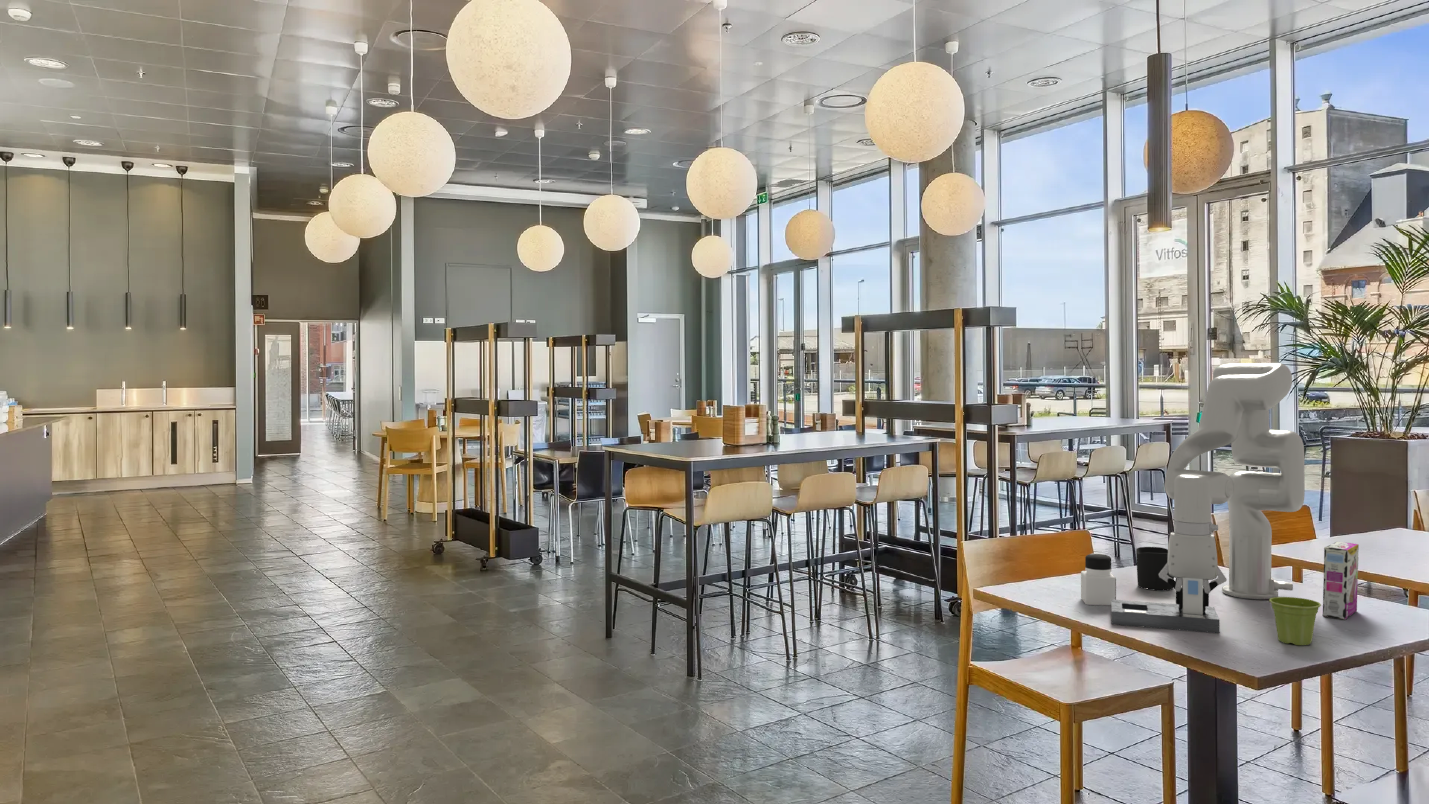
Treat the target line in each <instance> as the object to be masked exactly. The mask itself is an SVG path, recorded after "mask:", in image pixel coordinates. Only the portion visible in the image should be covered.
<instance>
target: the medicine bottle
mask: <svg viewBox="0 0 1429 804" xmlns="http://www.w3.org/2000/svg"><path fill="white" fill-rule="evenodd" d="M1084 558H1085V562H1084V564H1085V567H1084V568H1085V569H1084V570H1082V571H1080V599H1081V600H1082V601H1083V602H1084V604H1085V605H1086V606H1109V607H1111V599H1113V600H1117V577H1115V576H1114V575H1113V573H1112V557H1111V556H1110V555H1108V554H1104V553H1088V554H1087V555H1086V556H1085V557H1084Z"/></svg>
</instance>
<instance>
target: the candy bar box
mask: <svg viewBox="0 0 1429 804" xmlns="http://www.w3.org/2000/svg"><path fill="white" fill-rule="evenodd" d="M1359 546H1360V545H1359V544H1358V543H1353V542H1345V541H1344V542H1343V541H1335V542H1334V543H1331V544H1329V545H1327V546H1324V548H1323V551H1324V552H1323V586H1322V588H1323V591H1322V594H1323V595H1322V617H1325V618H1330V619H1336V620H1337V619H1338V620H1347V619H1349V617H1351V616H1352V615H1353V614H1355V613H1356V612H1357V610H1358V584H1359V583H1358V581H1359V580H1358V579H1359V577H1358V575H1359V549H1360V548H1359Z"/></svg>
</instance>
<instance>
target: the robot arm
mask: <svg viewBox="0 0 1429 804" xmlns="http://www.w3.org/2000/svg"><path fill="white" fill-rule="evenodd" d="M1292 383H1293V373H1292V371H1291V370H1290V368H1289V367H1288V366H1287V365H1286V364H1283V363H1280V362H1261V363H1260V362H1259V363H1258V362H1257V363H1256V362H1255V363H1253V362H1246V363H1245V362H1238V363H1225V364H1221V365H1219V366H1217V367H1215V368H1214V370H1213V373H1212V379H1211V381H1210V382H1209V383H1208V387H1207V389H1206V395H1205V398H1204V399H1205V400H1204V402H1203V407H1202V412H1201V414H1200V415H1201V416H1200V419H1199V424H1198V427H1197V429H1196V431H1194V432H1193V433H1191V434H1190V435H1189V436H1187V437H1185V439H1184V440H1182V441H1181V442H1180V443H1179V445H1178V446H1177V447H1176V448H1175V449H1174V451H1173V452H1172V454H1171V456H1170V458H1169V462H1168V465H1167V470H1166V473H1165V479H1164V489H1165V492H1166V495H1167V496H1168V497H1169V498H1170V499H1171V500H1174V501H1173V504H1174V505H1173V510H1174V511H1173V517H1174V518H1173V521H1174V522H1173V526H1174V527H1173V532H1170V534H1169V538H1168V544H1167V545H1168V546H1167V549H1168V557H1167V564H1166V565H1165V566H1164V568H1163V569H1162V570H1161V571H1160V573H1159V577H1160V578H1162V579H1163V580H1165V581H1166V582H1168V583H1169V584H1170V585H1171V586H1172V587H1173V588H1172V589H1173V590H1174V591H1175V604H1179V608H1180V609H1183V591H1182V581H1183V578H1196V579H1203V611H1206V606H1207V607H1210V600H1209V598H1210V593H1211V592H1212V591H1213V590H1214V589H1216V588H1217V587H1219V586H1220V585H1222V584H1224V583H1226V582H1227V580H1228V584H1226V585H1223V586H1222V588H1221V591H1222V593H1224V594H1225V595H1228V596H1232V597H1235V598H1239V599H1247V600H1249V599H1250V600H1269V599H1270V598H1274V597H1279V590H1282V591H1283V590H1284V591H1293V590H1294V585H1293V582H1286V581H1282V580H1281V581H1278V580H1275V579H1274V578H1273V577H1272V541H1273V540H1272V539H1273V538H1272V535H1273V533H1272V532H1273V530H1272V526H1271V523H1270V521H1269V519H1268V518H1267V517H1266V515H1265V514H1264V513H1263V512H1262V511H1272V512H1273V511H1274V512H1285V513H1295V512H1297V511H1299V510H1301V508H1302V507H1303V505H1304V502H1305V491H1306V490H1305V488H1306V487H1305V486H1306V485H1305V483H1306V482H1305V480H1306V479H1305V448H1304V443H1303V439H1302V437H1301V436H1300V435H1299V433H1297V432H1294V431H1292V430H1287V429H1286V430H1285V429H1271V428H1270V411H1269V410H1271V409H1272V408H1273V409H1274V408H1275V406H1277V404H1279V403H1280V402H1281V401H1283V400H1284V399H1285V397H1286V396H1287V395H1288V394H1289V393H1290V391H1291V388H1292V385H1293V384H1292ZM1230 444H1231V455H1232V459H1233V461H1234V462H1235V463H1236V464H1238V465H1241V466H1246V467H1254V468H1257V467H1258V468H1271V469H1278V470H1279V471H1280V473H1279V472H1267V471H1251V470H1250V471H1249V470H1243V471H1240V470H1239V471H1236V472H1232V473H1231V474H1230V475H1228V474H1226V473H1224V472H1219V471H1213V470H1212V471H1209V470H1201V469H1199V470H1197V469H1196V470H1195V469H1187V468H1188V466H1189V464H1190V463H1191V462H1192V461H1193V460H1194V459H1196V458H1197V457H1200V456H1201V455H1203V454H1206V453H1208V452H1211V451H1214V450H1217V449H1220V448H1223V447H1225V446H1228V445H1230ZM1225 503H1227V507H1228V508H1227V509H1228V526H1229V527H1228V532H1229V533H1228V534H1229V535H1228V536H1229V537H1228V540H1229V542H1228V579H1227V577H1226V575H1224V573H1223V571H1222V570H1221V569H1220V568H1219V566H1218V565H1219V564H1218V552H1217V545H1216V537H1215V535H1214V534H1212V533H1213V532H1215V531H1216V532H1218V531H1219V525H1218V524H1214V523H1212V505H1223V504H1225ZM1168 572H1169V575H1170V576H1172V577H1174V580H1173V579H1172V578H1171V577H1169V576H1168V575H1167V573H1168ZM1209 581H1210V582H1209Z"/></svg>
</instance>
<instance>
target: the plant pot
mask: <svg viewBox="0 0 1429 804" xmlns="http://www.w3.org/2000/svg"><path fill="white" fill-rule="evenodd" d="M1268 601H1269V603H1270V604H1271V607H1272V609H1273V612H1274V613H1273V614H1274V621H1275V626H1276V634H1277V639H1278V641H1279V642H1281V643H1283V644H1294V645H1296V646H1309V645H1311V644H1312V642H1313V637H1314V630H1315V623H1316V618H1317V614H1318V613H1319V609H1320V608H1321V606H1322V604H1321V603H1320V602H1319V601H1316V600H1313V599H1307V598H1302V597H1295V596H1278V597H1274V598H1270V599H1268Z"/></svg>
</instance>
